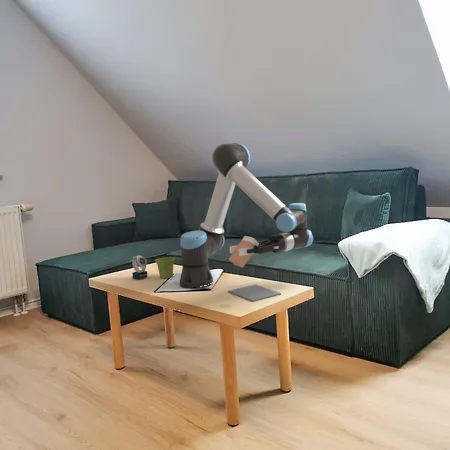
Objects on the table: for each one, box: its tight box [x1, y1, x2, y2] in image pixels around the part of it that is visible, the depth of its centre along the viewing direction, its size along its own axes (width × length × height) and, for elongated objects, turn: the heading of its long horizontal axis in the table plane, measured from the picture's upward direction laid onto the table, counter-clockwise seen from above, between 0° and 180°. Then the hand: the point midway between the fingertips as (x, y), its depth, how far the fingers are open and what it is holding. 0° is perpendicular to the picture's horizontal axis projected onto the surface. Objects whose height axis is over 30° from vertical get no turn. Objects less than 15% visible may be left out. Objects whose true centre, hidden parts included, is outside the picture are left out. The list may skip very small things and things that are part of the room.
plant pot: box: [154, 256, 176, 279], centre depth 242 cm, size 9×9×9 cm
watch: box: [131, 255, 148, 281], centre depth 242 cm, size 6×8×11 cm
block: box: [228, 235, 259, 268], centre depth 202 cm, size 6×4×12 cm
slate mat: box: [228, 283, 282, 303], centre depth 207 cm, size 18×14×1 cm
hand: (234, 251), depth 200 cm, fingers closed on block, 6 cm apart
